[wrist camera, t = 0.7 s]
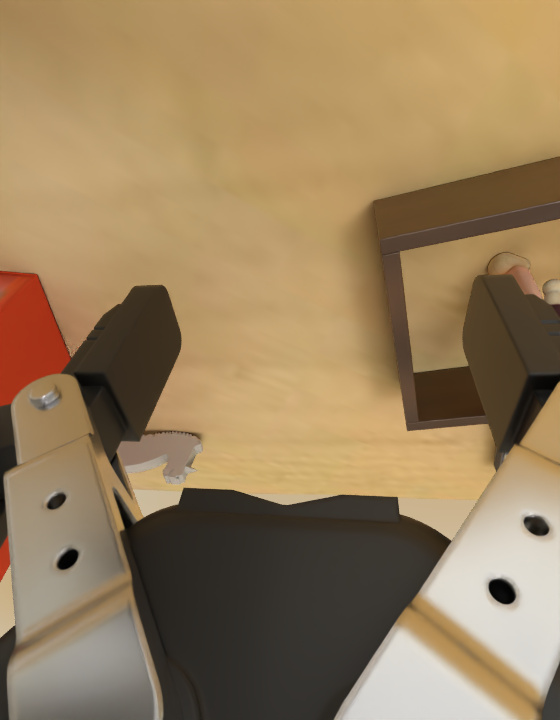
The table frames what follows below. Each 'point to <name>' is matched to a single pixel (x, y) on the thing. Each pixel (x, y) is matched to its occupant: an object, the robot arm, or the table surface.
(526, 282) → the grandmother figurine
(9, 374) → the file binder
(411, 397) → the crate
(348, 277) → the table surface
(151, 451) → the grey flat fragment
